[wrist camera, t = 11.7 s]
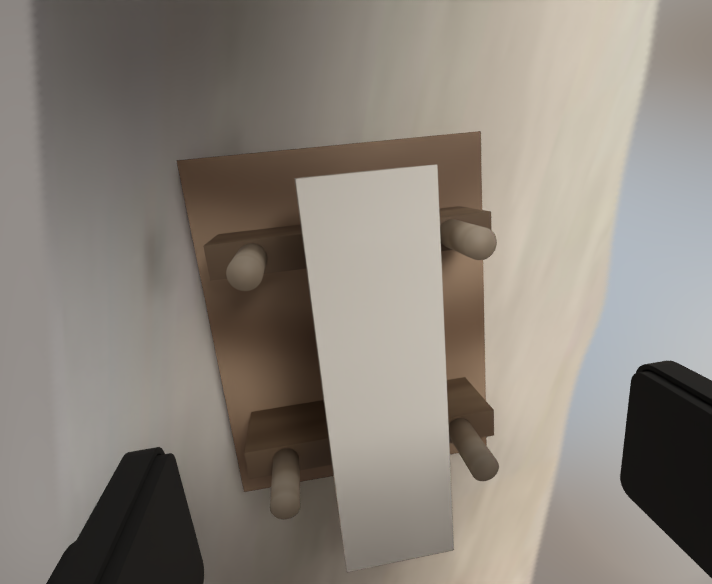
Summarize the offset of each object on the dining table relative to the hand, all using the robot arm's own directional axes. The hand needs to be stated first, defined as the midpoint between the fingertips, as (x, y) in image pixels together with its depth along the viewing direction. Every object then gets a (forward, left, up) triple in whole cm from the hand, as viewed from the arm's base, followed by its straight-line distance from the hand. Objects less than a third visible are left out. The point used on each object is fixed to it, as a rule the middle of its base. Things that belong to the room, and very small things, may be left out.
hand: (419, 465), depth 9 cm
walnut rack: (+1, 0, -12) cm, 12 cm away
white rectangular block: (0, 0, -8) cm, 8 cm away
